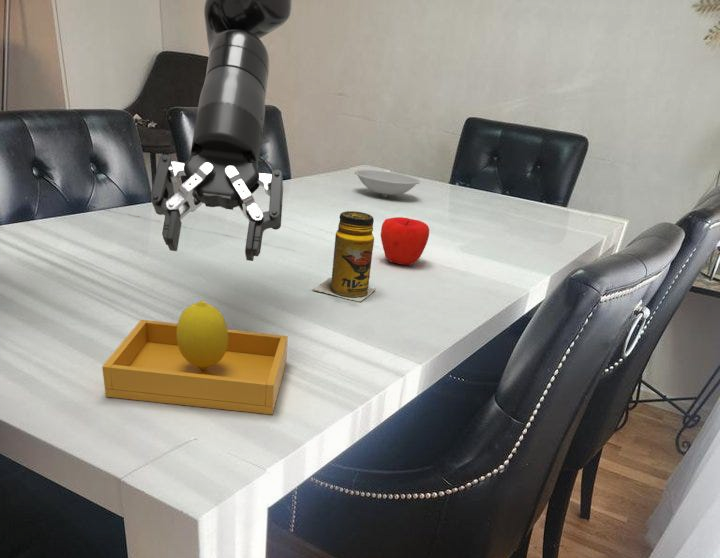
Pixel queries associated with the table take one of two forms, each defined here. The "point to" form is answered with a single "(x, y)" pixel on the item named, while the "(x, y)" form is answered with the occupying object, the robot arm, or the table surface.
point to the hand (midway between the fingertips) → (210, 252)
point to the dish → (386, 182)
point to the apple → (404, 239)
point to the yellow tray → (197, 370)
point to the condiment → (351, 258)
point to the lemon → (202, 335)
